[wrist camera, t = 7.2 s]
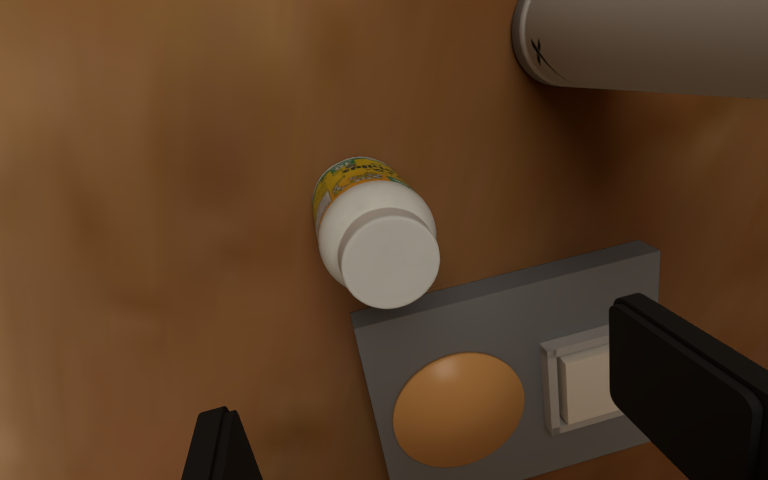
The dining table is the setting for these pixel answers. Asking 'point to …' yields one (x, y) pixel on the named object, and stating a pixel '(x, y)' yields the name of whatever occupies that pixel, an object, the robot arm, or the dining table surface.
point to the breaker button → (584, 384)
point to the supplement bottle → (375, 233)
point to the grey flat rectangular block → (497, 368)
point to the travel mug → (646, 45)
